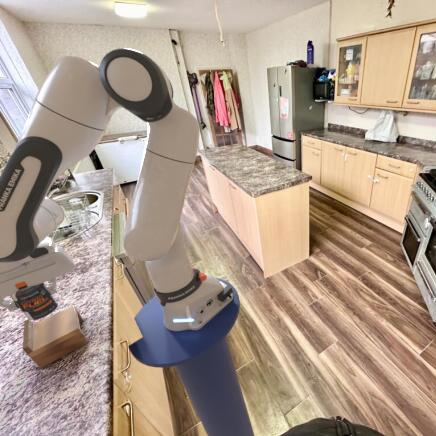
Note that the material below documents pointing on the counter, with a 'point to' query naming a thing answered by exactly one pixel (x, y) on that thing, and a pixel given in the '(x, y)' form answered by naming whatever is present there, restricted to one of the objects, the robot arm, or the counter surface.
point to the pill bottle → (34, 300)
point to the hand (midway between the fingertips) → (35, 300)
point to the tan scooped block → (53, 336)
